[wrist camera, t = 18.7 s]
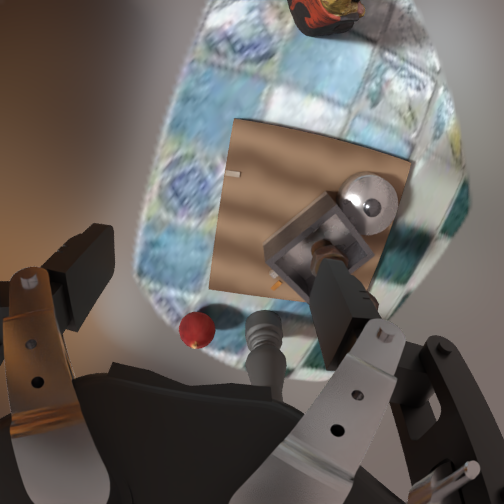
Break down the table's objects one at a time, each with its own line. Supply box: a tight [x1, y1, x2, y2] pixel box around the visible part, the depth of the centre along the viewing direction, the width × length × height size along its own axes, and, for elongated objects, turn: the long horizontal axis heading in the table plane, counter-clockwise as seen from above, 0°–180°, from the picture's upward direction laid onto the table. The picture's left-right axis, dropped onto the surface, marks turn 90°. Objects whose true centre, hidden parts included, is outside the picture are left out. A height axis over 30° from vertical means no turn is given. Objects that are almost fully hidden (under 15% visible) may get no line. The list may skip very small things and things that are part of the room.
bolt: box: [310, 239, 379, 311], centre depth 35 cm, size 6×5×15 cm
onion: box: [179, 312, 215, 349], centre depth 47 cm, size 6×6×8 cm
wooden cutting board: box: [209, 118, 411, 302], centre depth 42 cm, size 25×25×2 cm
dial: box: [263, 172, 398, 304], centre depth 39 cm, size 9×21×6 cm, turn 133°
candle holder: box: [245, 310, 287, 402], centre depth 40 cm, size 6×6×25 cm
